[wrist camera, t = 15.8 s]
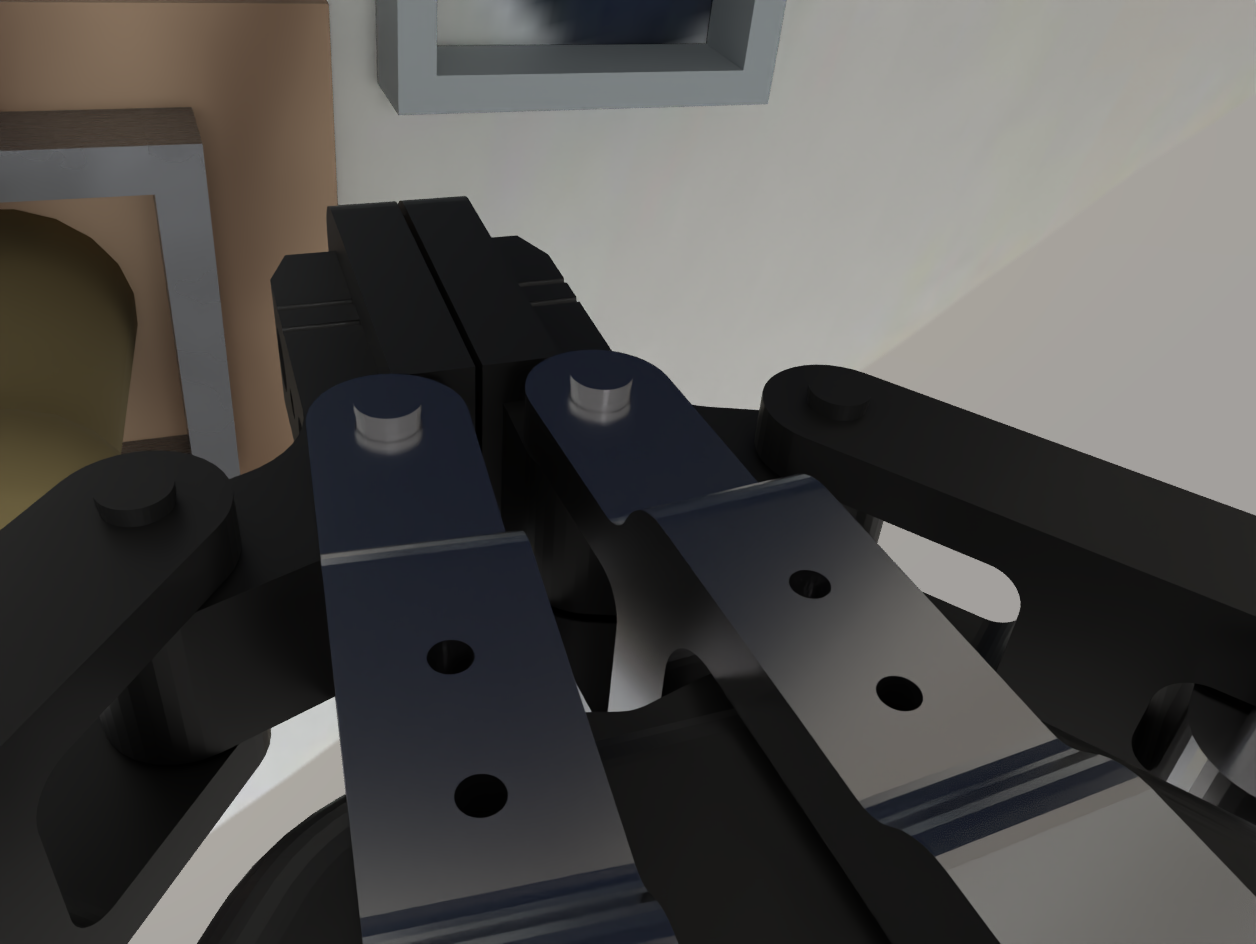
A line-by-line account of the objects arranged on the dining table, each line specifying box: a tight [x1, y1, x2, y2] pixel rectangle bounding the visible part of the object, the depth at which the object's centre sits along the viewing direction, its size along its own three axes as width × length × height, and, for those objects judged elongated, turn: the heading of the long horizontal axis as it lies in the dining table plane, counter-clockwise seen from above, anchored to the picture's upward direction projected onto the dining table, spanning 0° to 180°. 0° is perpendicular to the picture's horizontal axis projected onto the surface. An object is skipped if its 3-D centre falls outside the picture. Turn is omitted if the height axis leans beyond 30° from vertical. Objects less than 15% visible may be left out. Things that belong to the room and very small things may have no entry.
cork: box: [0, 209, 138, 530], centre depth 26 cm, size 6×6×11 cm
